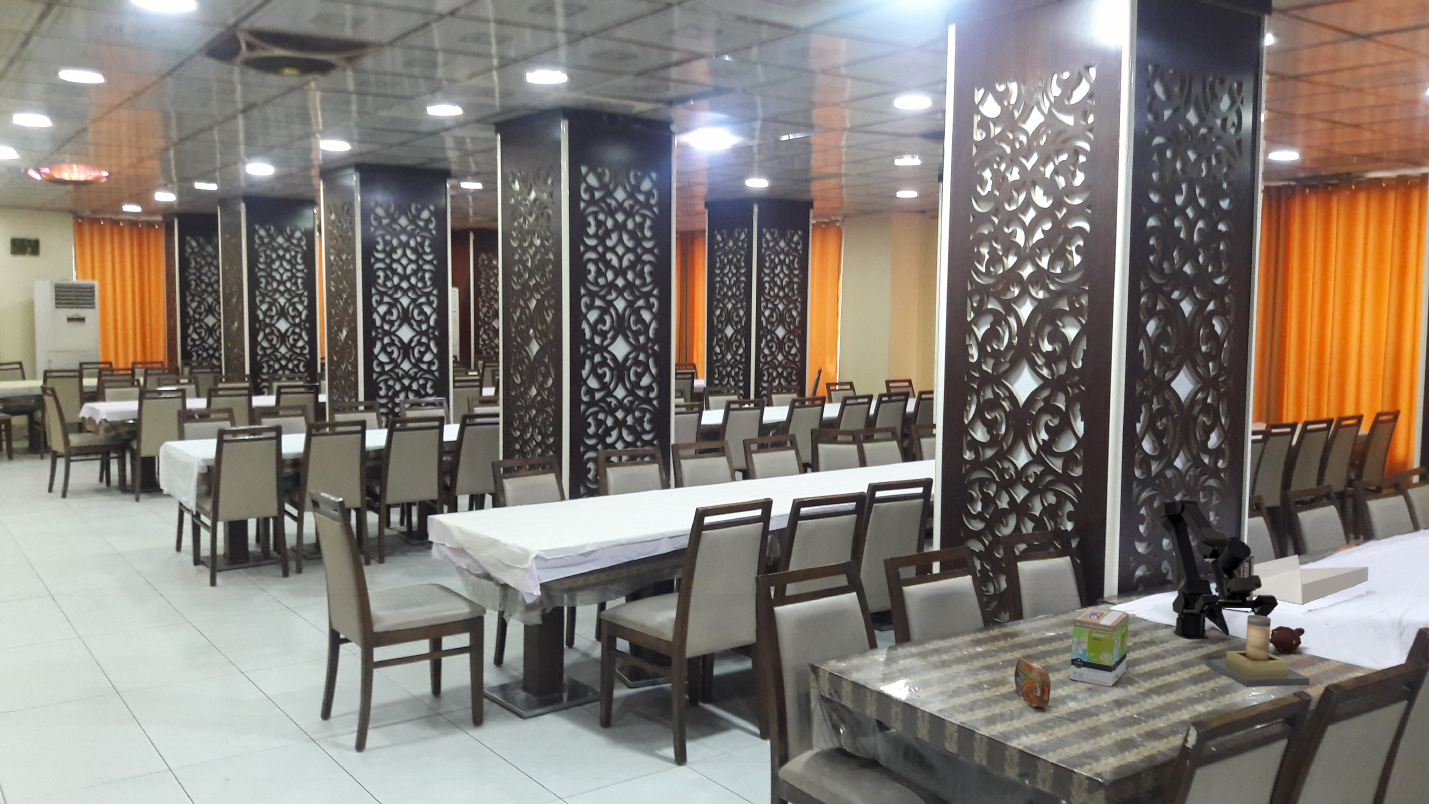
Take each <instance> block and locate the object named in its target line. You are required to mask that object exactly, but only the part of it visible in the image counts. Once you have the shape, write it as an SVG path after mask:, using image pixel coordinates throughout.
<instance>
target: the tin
mask: <svg viewBox="0 0 1429 804" xmlns="http://www.w3.org/2000/svg"><path fill="white" fill-rule="evenodd" d="M1014 685H1015V690H1016V693H1017V694H1020V696H1022V697H1023V698H1024V699H1025V700H1026V701H1027V702H1028V703H1029V704H1030V705H1031V706H1032V708H1045V707H1047V706H1048V705H1049V702H1050V697H1051V696H1050V695H1051V685H1052V683H1051V678H1050V675H1049V673H1048V671H1047V670H1046V669H1044V668H1043V667H1042V666H1041V665H1040V664H1038V663H1037V662H1035V661H1034V660H1032V659H1023V658H1021V659H1019V660H1018V661H1017V663H1016V665H1015V670H1014ZM1020 696H1019V697H1020ZM1024 699H1023V700H1024ZM1025 700H1024V701H1025ZM1026 701H1025V702H1026ZM1027 702H1026V703H1027ZM1028 703H1027V704H1028ZM1029 704H1028V705H1029ZM1030 705H1029V706H1030ZM1031 706H1030V707H1031Z"/></svg>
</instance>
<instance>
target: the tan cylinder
mask: <svg viewBox="0 0 1429 804" xmlns="http://www.w3.org/2000/svg"><path fill="white" fill-rule="evenodd" d="M1271 621H1272V619H1271V617H1270V616H1269V617H1268V616H1267V617H1266V616H1260V615H1255V614H1249V615H1247V621H1246V623H1247V624H1246V642H1245V651H1246V658H1248V659H1250V660H1252V661H1269V653H1270V644H1271V643H1270V638H1271Z"/></svg>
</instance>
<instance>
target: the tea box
mask: <svg viewBox="0 0 1429 804" xmlns="http://www.w3.org/2000/svg"><path fill="white" fill-rule="evenodd" d="M1129 616H1130V615H1129V613H1128V612H1125V611H1124V612H1122V611H1116V610H1110V609H1109V610H1108V609H1103V608H1097V607H1096V608H1095V607H1089V606H1087V608H1086V609H1084V610H1083V611H1082V612H1080V613H1079V614H1078V615H1077V616H1075V618H1073V626H1072V642H1071V643H1072V644H1071V658H1070V671H1069V673H1070V674H1069V679H1070V680H1074V681H1078V682H1083V683H1088V684H1093V685H1099V686H1104V687H1112V686H1113V685H1114V684H1115V683H1116V682H1117V681H1118V680H1119V679H1120V677H1122V675H1123V674H1125V672H1126V668H1127V655H1128V654H1127V652H1128V638H1129V637H1128V635H1129V618H1130V617H1129Z"/></svg>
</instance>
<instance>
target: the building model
mask: <svg viewBox="0 0 1429 804" xmlns="http://www.w3.org/2000/svg"><path fill="white" fill-rule="evenodd" d="M1300 566H1301V565H1300V561H1299V555H1298V554H1295V555H1290V556H1286V557H1282V558H1278V559H1277V558H1276V559H1273V560H1269V561H1264V562H1260V563H1254V572H1253V575H1259V578H1260V580H1261V584H1262V586H1261V588H1258V589H1256V591H1253V597H1257V596H1258V595H1273V596H1274V597H1275V598H1276V600H1279V601H1283V602H1288V603H1292V604H1298V605H1304V604H1306V603H1309V602H1311V601H1314V600H1317V599H1320V598H1324V597H1326V596H1328V595H1331V594H1334V593H1337V592H1339V591H1342V590H1345V589H1348V588H1351V587H1354V586H1356V585H1358V584H1361V583H1363V582H1366V581H1368V582H1369V566H1351V567H1350V566H1349V567H1348V566H1347V567H1346V566H1345V567H1344V566H1343V567H1317V568H1315V567H1314V568H1311V567H1310V568H1309V567H1308V568H1300Z"/></svg>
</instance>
